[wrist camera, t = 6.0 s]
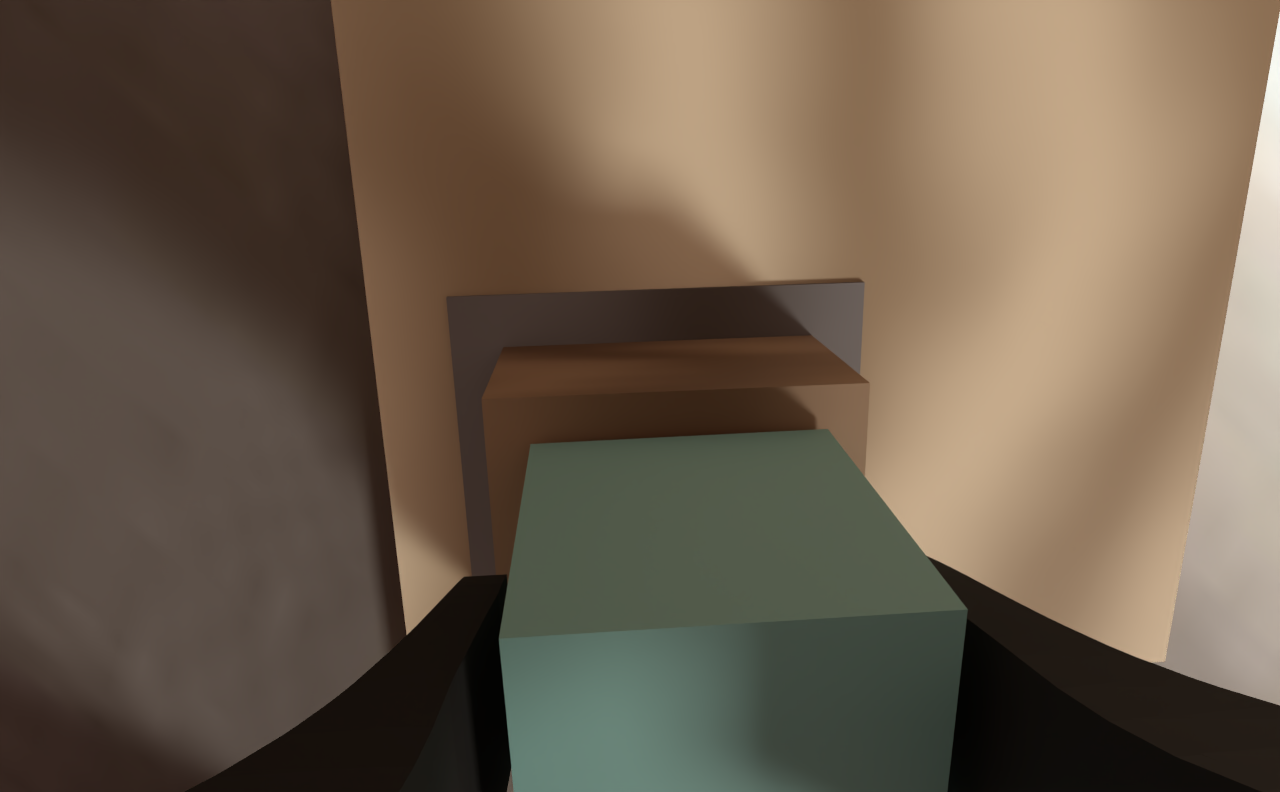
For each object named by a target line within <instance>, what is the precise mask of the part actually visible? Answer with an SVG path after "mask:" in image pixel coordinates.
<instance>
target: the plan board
mask: <svg viewBox="0 0 1280 792" xmlns="http://www.w3.org/2000/svg"><path fill="white" fill-rule="evenodd" d="M331 7H332V15H333V23H334V32H335V40H336V49H337V57H338V65H339V74H340V82H341V90H342V99H343V107H344V115H345V124H346V132H347V141H348V149H349V157H350V166H351V174H352V182H353V191H354V199H355V207H356V216H357V224H358V233H359V241H360V249H361V258H362V266H363V274H364V283H365V291H366V299H367V308H368V316H369V325H370V333H371V341H372V350H373V358H374V366H375V375H376V383H377V391H378V400H379V408H380V417H381V425H382V433H383V442H384V450H385V458H386V467H387V475H388V483H389V492H390V500H391V509H392V517H393V525H394V534H395V542H396V550H397V559H398V567H399V575H400V584H401V592H402V601H403V609H404V617H405V626H406V634H408V633H409V632H411V631H412V630H413V629H414V628H415V627H416V626H417V625H418V624H419V622H420V621H421V620H422V619H423V618H424V617H425V616H426V615H427V614H428V613H429V612H430V611H431V610H432V609H433V608H434V607H435V606H436V605H437V604H438V603H439V601H440V600H441V599H442V598H443V597H444V596H445V595H446V594H447V593H448V592H449V591H450V590H451V589H452V588H453V587H454V586H455V585H456V584H457V583H458V582H459V581H460V580H461V579H462V578H463V577H466V576H485V575H496V569H495V557H494V545H493V533H492V521H491V509H490V496H489V484H488V472H487V460H486V448H485V436H484V424H483V412H482V397H483V394H484V392H485V390H486V387H487V385H488V382H489V380H490V378H491V375H492V373H493V371H494V368H495V366H496V363H497V361H498V359H499V356H500V354H501V351H502V349H503V347H518V346H544V345H571V344H597V343H623V342H649V341H675V340H702V339H728V338H754V337H780V336H806V335H812V336H813V337H814V338H816V339H817V340H818V341H819V342H821V343H822V344H823V345H824V346H825V347H827V348H828V349H829V350H830V351H832V352H833V353H834V354H835V355H836V356H838V357H839V358H840V359H841V360H843V361H844V362H845V363H846V364H847V365H849V366H850V367H851V368H852V369H854V370H855V371H856V372H857V373H858V374H860V375H861V376H862V377H863V378H865V379H866V380H867V381H868V382H869V383H870V393H869V411H868V429H867V448H866V466H865V477H866V479H867V480H868V481H869V483H870V484H871V485H872V487H873V488H874V489H875V490H876V492H877V493H878V494H879V496H880V497H881V498H882V499H883V501H884V502H885V503H886V505H887V506H888V507H889V508H890V510H891V511H892V512H893V514H894V515H895V516H896V517H897V519H898V520H899V521H900V523H901V524H902V525H903V527H904V528H905V529H906V530H907V532H908V533H909V534H910V536H911V537H912V538H913V539H914V541H915V542H916V543H917V545H918V546H919V547H920V548H921V550H922V551H923V552H924V554H925V555H926V556H928V557H930V558H933V559H935V560H937V561H939V562H941V563H943V564H945V565H947V566H949V567H951V568H953V569H955V570H957V571H959V572H961V573H963V574H965V575H967V576H969V577H971V578H972V579H974V580H976V581H978V582H980V583H982V584H984V585H986V586H988V587H989V588H991V589H993V590H995V591H997V592H999V593H1001V594H1003V595H1005V596H1007V597H1009V598H1010V599H1012V600H1014V601H1016V602H1018V603H1020V604H1022V605H1024V606H1026V607H1028V608H1030V609H1032V610H1034V611H1036V612H1038V613H1040V614H1042V615H1044V616H1046V617H1048V618H1050V619H1052V620H1054V621H1056V622H1058V623H1060V624H1062V625H1064V626H1067V627H1069V628H1071V629H1073V630H1075V631H1077V632H1080V633H1082V634H1084V635H1086V636H1088V637H1091V638H1093V639H1095V640H1097V641H1099V642H1102V643H1104V644H1106V645H1108V646H1111V647H1113V648H1115V649H1118V650H1120V651H1123V652H1125V653H1127V654H1130V655H1132V656H1135V657H1137V658H1140V659H1143V660H1145V661H1148V662H1165V658H1166V652H1167V647H1168V641H1169V635H1170V630H1171V624H1172V618H1173V613H1174V607H1175V601H1176V596H1177V590H1178V584H1179V579H1180V573H1181V567H1182V562H1183V556H1184V550H1185V545H1186V539H1187V533H1188V528H1189V522H1190V516H1191V511H1192V505H1193V499H1194V494H1195V488H1196V482H1197V477H1198V471H1199V465H1200V460H1201V454H1202V448H1203V443H1204V437H1205V431H1206V426H1207V420H1208V414H1209V409H1210V403H1211V397H1212V392H1213V386H1214V380H1215V375H1216V369H1217V363H1218V358H1219V352H1220V346H1221V341H1222V335H1223V329H1224V324H1225V318H1226V312H1227V307H1228V301H1229V295H1230V290H1231V284H1232V278H1233V273H1234V267H1235V261H1236V256H1237V250H1238V244H1239V239H1240V233H1241V227H1242V222H1243V216H1244V210H1245V205H1246V199H1247V193H1248V188H1249V182H1250V176H1251V171H1252V165H1253V159H1254V154H1255V148H1256V142H1257V137H1258V131H1259V125H1260V120H1261V114H1262V108H1263V103H1264V97H1265V91H1266V86H1267V80H1268V74H1269V69H1270V63H1271V57H1272V52H1273V46H1274V40H1275V35H1276V29H1277V23H1278V18H1279V12H1280V0H331Z"/></svg>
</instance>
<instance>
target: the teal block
mask: <svg viewBox="0 0 1280 792" xmlns="http://www.w3.org/2000/svg"><path fill="white" fill-rule="evenodd" d="M967 612H968V609H967V608H966V607H965V605H964V604H963V603H962V601H961V600H960V599H959V597H958V596H957V595H956V594H955V592H954V591H953V590H952V588H951V587H950V586H949V585H948V583H947V582H946V581H945V579H944V578H943V577H942V576H941V574H940V573H939V572H938V570H937V569H936V568H935V567H934V565H933V564H932V563H931V561H930V560H929V559H928V557H927V556H926V555H925V554H924V552H923V551H922V550H921V548H920V547H919V546H918V545H917V543H916V542H915V541H914V539H913V538H912V537H911V536H910V534H909V533H908V532H907V530H906V529H905V528H904V527H903V525H902V524H901V523H900V521H899V520H898V519H897V517H896V516H895V515H894V514H893V512H892V511H891V510H890V508H889V507H888V506H887V505H886V503H885V502H884V501H883V499H882V498H881V497H880V496H879V494H878V493H877V492H876V490H875V489H874V488H873V487H872V485H871V484H870V483H869V481H868V480H867V479H866V477H865V476H864V475H863V474H862V472H861V471H860V470H859V468H858V467H857V466H856V465H855V463H854V462H853V461H852V459H851V458H850V457H849V456H848V454H847V453H846V452H845V450H844V449H843V448H842V447H841V445H840V444H839V443H838V441H837V440H836V439H835V437H834V436H833V435H832V434H831V432H830V431H829V430H828V429H816V430H797V431H777V432H757V433H738V434H718V435H698V436H679V437H659V438H639V439H620V440H600V441H580V442H561V443H541V444H530V451H529V457H528V463H527V469H526V475H525V481H524V487H523V493H522V500H521V506H520V512H519V518H518V524H517V530H516V536H515V542H514V549H513V555H512V561H511V567H510V573H509V579H508V585H507V592H506V598H505V604H504V610H503V616H502V622H501V628H500V634H499V646H500V656H501V666H502V676H503V687H504V697H505V707H506V717H507V727H508V737H509V748H510V758H511V768H512V778H513V788H514V792H947V790H948V781H949V773H950V764H951V755H952V746H953V737H954V728H955V719H956V710H957V701H958V692H959V683H960V674H961V665H962V656H963V648H964V639H965V630H966V621H967Z"/></svg>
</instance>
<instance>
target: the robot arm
mask: <svg viewBox="0 0 1280 792" xmlns="http://www.w3.org/2000/svg"><path fill="white" fill-rule="evenodd" d="M927 557H928V556H927ZM928 559H929V560H930V561H931V563H932V564H933V565H934V567H935V568H936V569H937V570H938V572H939V573H940V574H941V576H942V577H943V578H944V579H945V581H946V582H947V583H948V585H949V586H950V587H951V588H952V590H953V591H954V592H955V594H956V595H957V596H958V597H959V599H960V600H961V601H962V603H963V604H964V605H965V607H966V608H967V609H968V612H967V621H966V630H965V639H964V648H963V656H962V665H961V674H960V683H959V692H958V701H957V710H956V719H955V728H954V737H953V746H952V755H951V764H950V773H949V781H948V790H947V792H1280V705H1276V704H1273V703H1270V702H1266V701H1263V700H1260V699H1256V698H1253V697H1250V696H1246V695H1243V694H1240V693H1237V692H1233V691H1230V690H1227V689H1223V688H1220V687H1217V686H1214V685H1211V684H1208V683H1205V682H1202V681H1199V680H1196V679H1193V678H1190V677H1188V676H1185V675H1182V674H1180V673H1177V672H1174V671H1172V670H1169V669H1166V668H1164V667H1161V666H1158V665H1156V664H1153V663H1151V662H1148V661H1145V660H1143V659H1140V658H1137V657H1135V656H1132V655H1130V654H1127V653H1125V652H1123V651H1120V650H1118V649H1115V648H1113V647H1111V646H1108V645H1106V644H1104V643H1102V642H1099V641H1097V640H1095V639H1093V638H1091V637H1088V636H1086V635H1084V634H1082V633H1080V632H1077V631H1075V630H1073V629H1071V628H1069V627H1067V626H1064V625H1062V624H1060V623H1058V622H1056V621H1054V620H1052V619H1050V618H1048V617H1046V616H1044V615H1042V614H1040V613H1038V612H1036V611H1034V610H1032V609H1030V608H1028V607H1026V606H1024V605H1022V604H1020V603H1018V602H1016V601H1014V600H1012V599H1010V598H1009V597H1007V596H1005V595H1003V594H1001V593H999V592H997V591H995V590H993V589H991V588H989V587H988V586H986V585H984V584H982V583H980V582H978V581H976V580H974V579H972V578H971V577H969V576H967V575H965V574H963V573H961V572H959V571H957V570H955V569H953V568H951V567H949V566H947V565H945V564H943V563H941V562H939V561H937V560H935V559H933V558H930V557H928ZM507 585H508V583H507V574H504V575H485V576H466V577H463V578H462V579H461V580H460V581H459V582H458V583H457V584H456V585H455V586H454V587H453V588H452V589H451V590H450V591H449V592H448V593H447V594H446V595H445V596H444V597H443V598H442V599H441V600H440V601H439V603H438V604H437V605H436V606H435V607H434V608H433V609H432V610H431V611H430V612H429V613H428V614H427V615H426V616H425V617H424V618H423V619H422V620H421V621H420V622H419V624H418V625H417V626H416V627H415V628H414V629H413V630H412V631H411V632H409V633H408V634H407V635H406V636H405V637H404V638H403V639H402V640H401V641H400V642H399V643H398V644H397V645H396V646H395V647H394V648H393V649H392V650H391V651H390V652H389V653H388V654H386V655H385V656H384V657H383V658H382V659H381V660H380V661H379V662H377V663H376V664H375V665H374V666H373V667H372V668H371V669H370V670H368V671H367V672H366V673H365V674H364V675H363V676H362V677H360V678H359V679H358V680H357V681H356V682H355V683H354V684H352V685H351V686H350V687H349V688H347V689H346V690H345V691H344V692H343V693H341V694H340V695H339V696H337V697H336V698H335V699H333V700H332V701H331V702H330V703H328V704H327V705H326V706H324V707H323V708H321V709H320V710H319V711H317V712H316V713H314V714H313V715H312V716H310V717H309V718H307V719H306V720H305V721H303V722H302V723H300V724H299V725H298V726H296V727H295V728H293V729H292V730H290V731H289V732H287V733H286V734H284V735H282V736H281V737H279V738H278V739H276V740H274V741H273V742H271V743H269V744H268V745H266V746H264V747H263V748H261V749H259V750H258V751H256V752H254V753H253V754H251V755H249V756H248V757H246V758H244V759H243V760H241V761H239V762H238V763H236V764H234V765H233V766H231V767H229V768H228V769H226V770H224V771H223V772H221V773H219V774H217V775H216V776H214V777H212V778H210V779H208V780H206V781H204V782H202V783H200V784H198V785H197V786H195V787H193V788H191V789H189V790H187V791H185V792H507V787H508V781H509V776H510V771H511V758H510V748H509V737H508V727H507V717H506V707H505V697H504V687H503V676H502V666H501V656H500V646H499V634H500V628H501V622H502V616H503V610H504V604H505V598H506V592H507Z"/></svg>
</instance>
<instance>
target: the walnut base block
mask: <svg viewBox="0 0 1280 792" xmlns="http://www.w3.org/2000/svg"><path fill="white" fill-rule="evenodd" d="M869 393H870V383H869V382H868V381H867V380H866V379H865V378H863V377H862V376H861V375H860V374H858V373H857V372H856V371H855V370H854V369H852V368H851V367H850V366H849V365H847V364H846V363H845V362H844V361H843V360H841V359H840V358H839V357H838V356H836V355H835V354H834V353H833V352H832V351H830V350H829V349H828V348H827V347H825V346H824V345H823V344H822V343H821V342H819V341H818V340H817V339H816V338H814V337H813V336H812V335H806V336H780V337H754V338H728V339H702V340H675V341H649V342H623V343H597V344H571V345H544V346H518V347H503V349H502V351H501V354H500V356H499V359H498V361H497V363H496V366H495V368H494V371H493V373H492V375H491V378H490V380H489V382H488V385H487V387H486V390H485V392H484V394H483V397H482V412H483V424H484V436H485V448H486V460H487V472H488V484H489V496H490V509H491V521H492V533H493V545H494V557H495V569H496V575H504V574H507V583H508V579H509V573H510V567H511V561H512V555H513V549H514V542H515V536H516V530H517V524H518V518H519V512H520V506H521V500H522V493H523V487H524V481H525V475H526V469H527V463H528V457H529V451H530V444H541V443H561V442H580V441H600V440H620V439H639V438H659V437H679V436H698V435H718V434H738V433H757V432H777V431H797V430H816V429H828V430H829V431H830V432H831V434H832V435H833V436H834V437H835V439H836V440H837V441H838V443H839V444H840V445H841V447H842V448H843V449H844V450H845V452H846V453H847V454H848V456H849V457H850V458H851V459H852V461H853V462H854V463H855V465H856V466H857V467H858V468H859V470H860V471H861V472H862V474H863V475H864V476H865V466H866V448H867V429H868V411H869Z"/></svg>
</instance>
